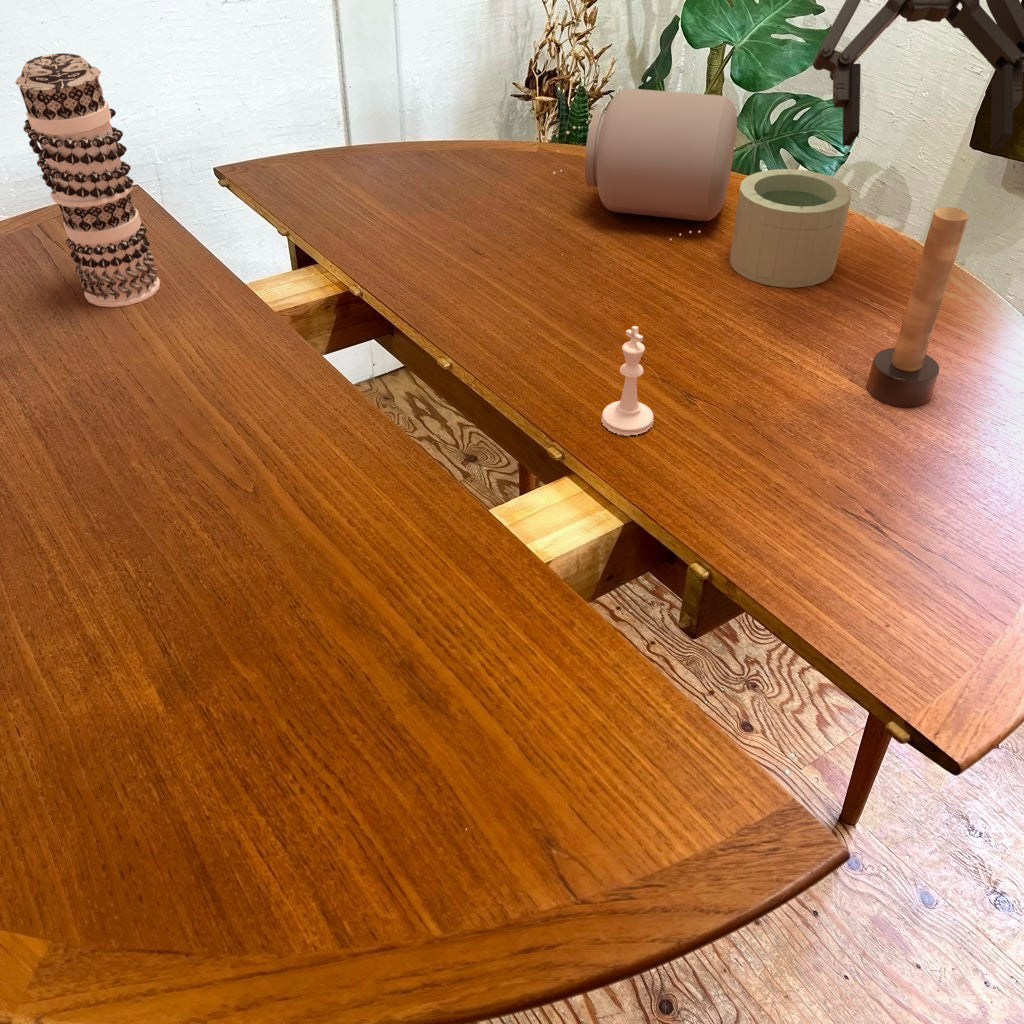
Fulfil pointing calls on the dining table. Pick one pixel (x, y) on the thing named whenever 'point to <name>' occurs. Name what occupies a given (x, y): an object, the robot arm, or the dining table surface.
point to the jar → (662, 153)
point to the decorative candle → (88, 178)
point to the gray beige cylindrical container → (789, 227)
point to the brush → (920, 319)
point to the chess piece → (629, 394)
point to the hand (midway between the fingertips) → (925, 140)
